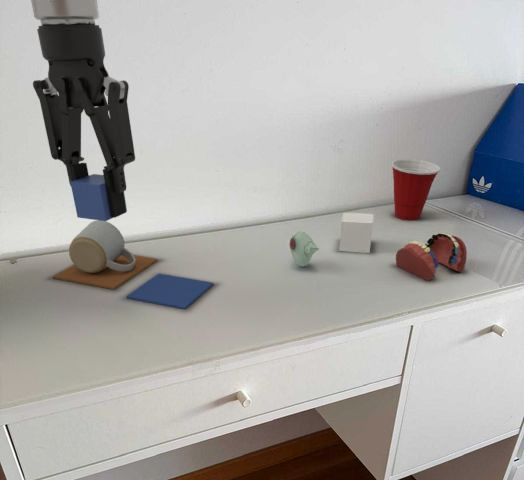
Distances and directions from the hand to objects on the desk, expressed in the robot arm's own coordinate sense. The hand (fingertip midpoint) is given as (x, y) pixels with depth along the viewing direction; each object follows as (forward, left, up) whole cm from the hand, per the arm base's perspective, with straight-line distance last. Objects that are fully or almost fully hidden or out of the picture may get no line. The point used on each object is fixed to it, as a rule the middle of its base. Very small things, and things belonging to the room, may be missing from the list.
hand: (102, 212), depth 75 cm
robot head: (+22, +26, -15) cm, 37 cm away
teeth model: (+44, +33, -15) cm, 58 cm away
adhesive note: (+29, +40, -15) cm, 52 cm away
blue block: (0, 0, 0) cm, 0 cm away
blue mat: (+5, +8, -15) cm, 18 cm away
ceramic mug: (-11, +12, -15) cm, 22 cm away
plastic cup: (+36, +64, -15) cm, 75 cm away
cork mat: (-11, +12, -15) cm, 22 cm away
